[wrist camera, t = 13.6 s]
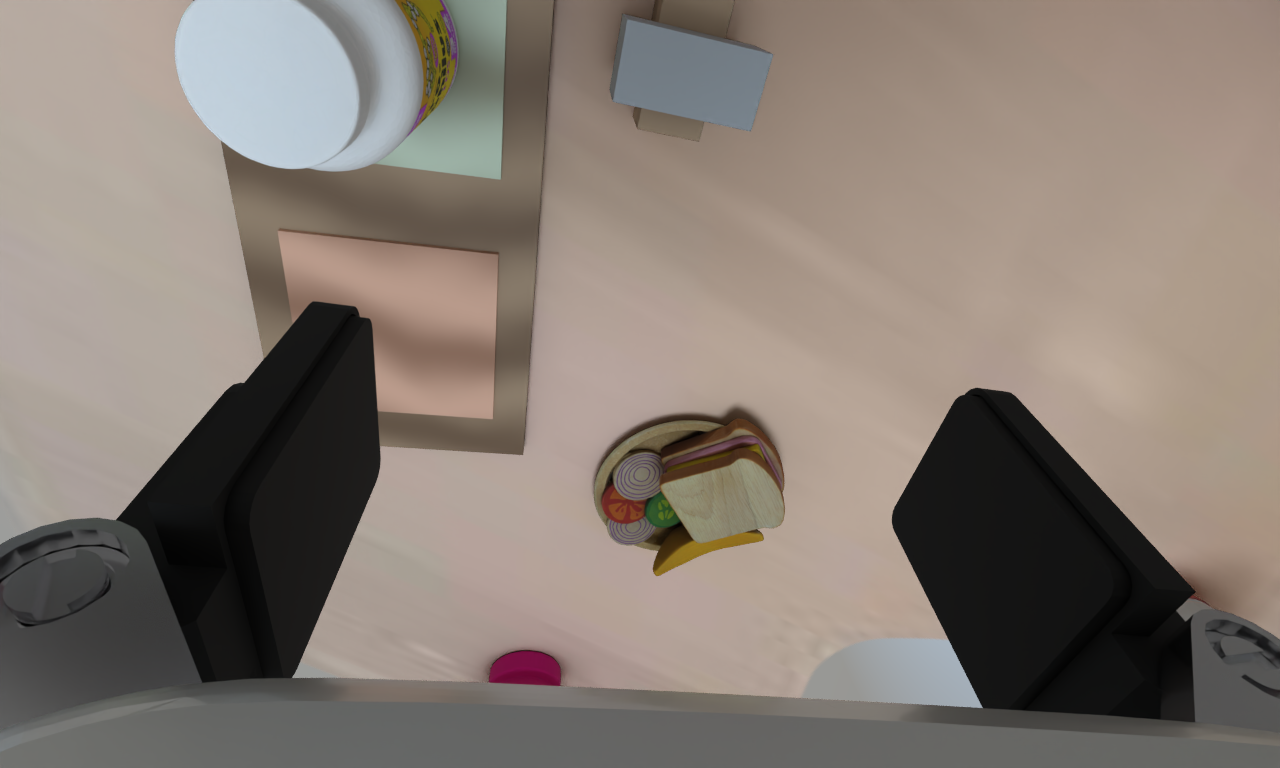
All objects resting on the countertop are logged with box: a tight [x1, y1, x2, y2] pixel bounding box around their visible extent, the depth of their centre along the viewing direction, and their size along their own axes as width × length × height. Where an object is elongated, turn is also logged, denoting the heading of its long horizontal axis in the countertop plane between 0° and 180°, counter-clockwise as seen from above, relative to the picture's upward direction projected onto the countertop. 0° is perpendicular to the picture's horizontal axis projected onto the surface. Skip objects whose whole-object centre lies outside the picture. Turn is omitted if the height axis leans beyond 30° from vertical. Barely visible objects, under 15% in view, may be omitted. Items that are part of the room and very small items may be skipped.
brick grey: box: [610, 14, 773, 131], centre depth 27 cm, size 6×3×3 cm, turn 78°
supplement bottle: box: [175, 0, 459, 172], centre depth 23 cm, size 7×7×13 cm
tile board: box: [193, 0, 554, 455], centre depth 33 cm, size 32×15×1 cm, turn 171°
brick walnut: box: [633, 0, 735, 142], centre depth 29 cm, size 6×3×3 cm, turn 168°
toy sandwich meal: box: [594, 419, 785, 576], centre depth 44 cm, size 12×14×5 cm
